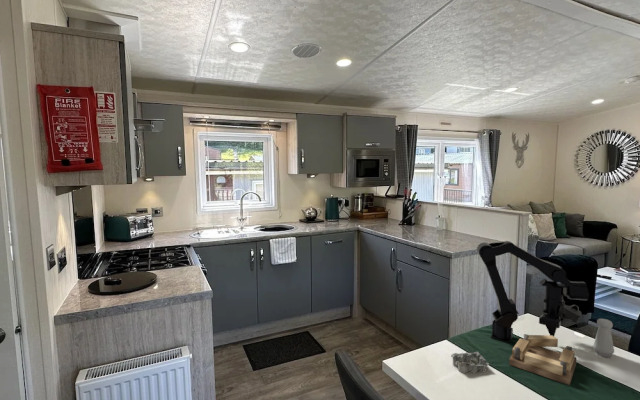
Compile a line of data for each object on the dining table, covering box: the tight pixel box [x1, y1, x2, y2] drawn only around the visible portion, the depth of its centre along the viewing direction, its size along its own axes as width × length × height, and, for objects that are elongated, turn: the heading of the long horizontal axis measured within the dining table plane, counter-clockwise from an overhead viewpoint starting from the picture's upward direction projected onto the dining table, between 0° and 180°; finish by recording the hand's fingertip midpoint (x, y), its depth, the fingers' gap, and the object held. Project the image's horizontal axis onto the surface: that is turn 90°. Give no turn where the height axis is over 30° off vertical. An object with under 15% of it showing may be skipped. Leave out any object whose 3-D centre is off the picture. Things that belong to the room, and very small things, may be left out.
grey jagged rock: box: [450, 351, 490, 374], centre depth 113 cm, size 11×8×4 cm
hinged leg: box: [523, 333, 559, 348], centre depth 123 cm, size 11×3×4 cm, turn 86°
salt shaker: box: [593, 318, 615, 358], centre depth 120 cm, size 6×6×13 cm
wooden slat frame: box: [508, 338, 578, 386], centre depth 115 cm, size 17×17×6 cm
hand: (552, 336), depth 128 cm, fingers closed
